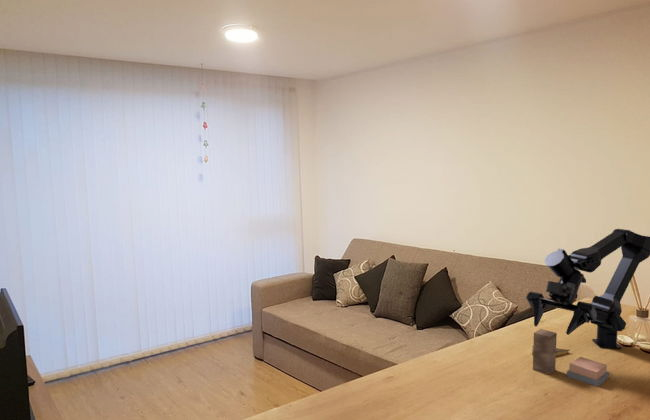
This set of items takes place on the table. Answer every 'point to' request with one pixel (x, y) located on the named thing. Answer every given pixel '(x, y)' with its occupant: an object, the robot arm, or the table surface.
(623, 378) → the table surface
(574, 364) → the terracotta top slab
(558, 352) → the shard
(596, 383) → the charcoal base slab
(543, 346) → the walnut pillar
